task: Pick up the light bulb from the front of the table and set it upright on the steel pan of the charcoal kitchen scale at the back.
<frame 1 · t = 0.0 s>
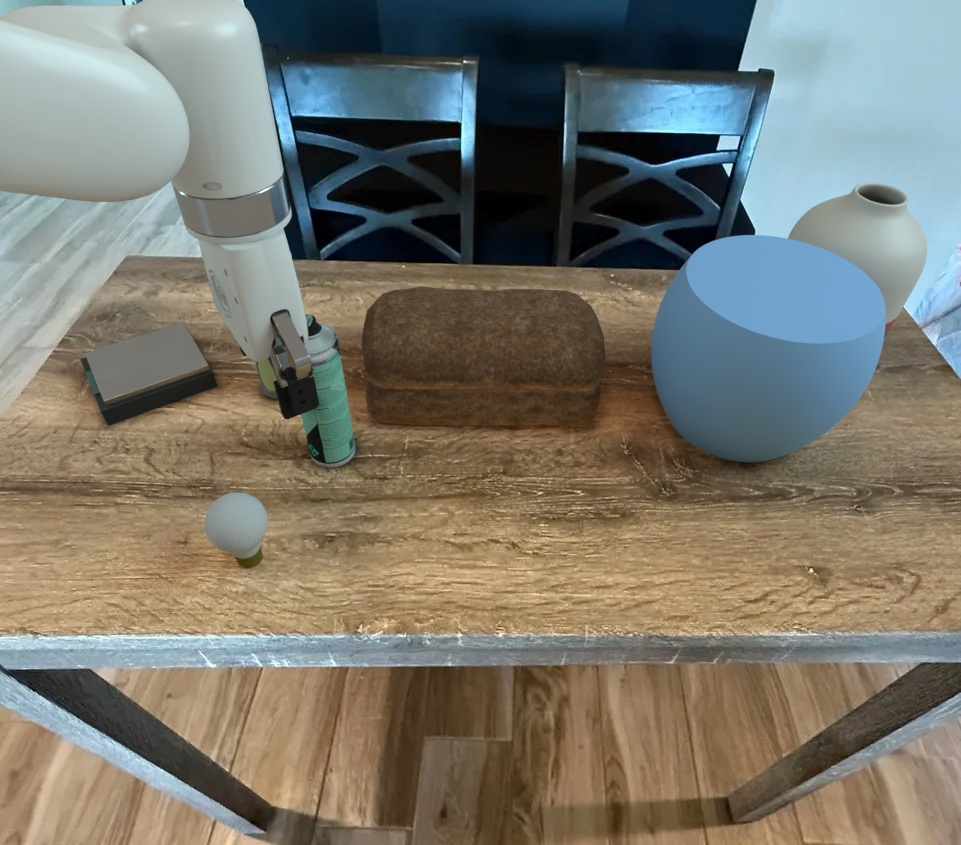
hand: (279, 379, 60), 21 cm above the table, tool pointing down, fingers open, 9 cm apart
blue rounded pouf: (730, 415, 90), on the table
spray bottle: (281, 390, 91), on the table
spray can: (333, 452, 83), on the table
bread: (481, 388, 92), on the table
scale: (152, 379, 91), on the table
vase: (810, 344, 101), on the table
light bulb: (252, 563, 72), on the table
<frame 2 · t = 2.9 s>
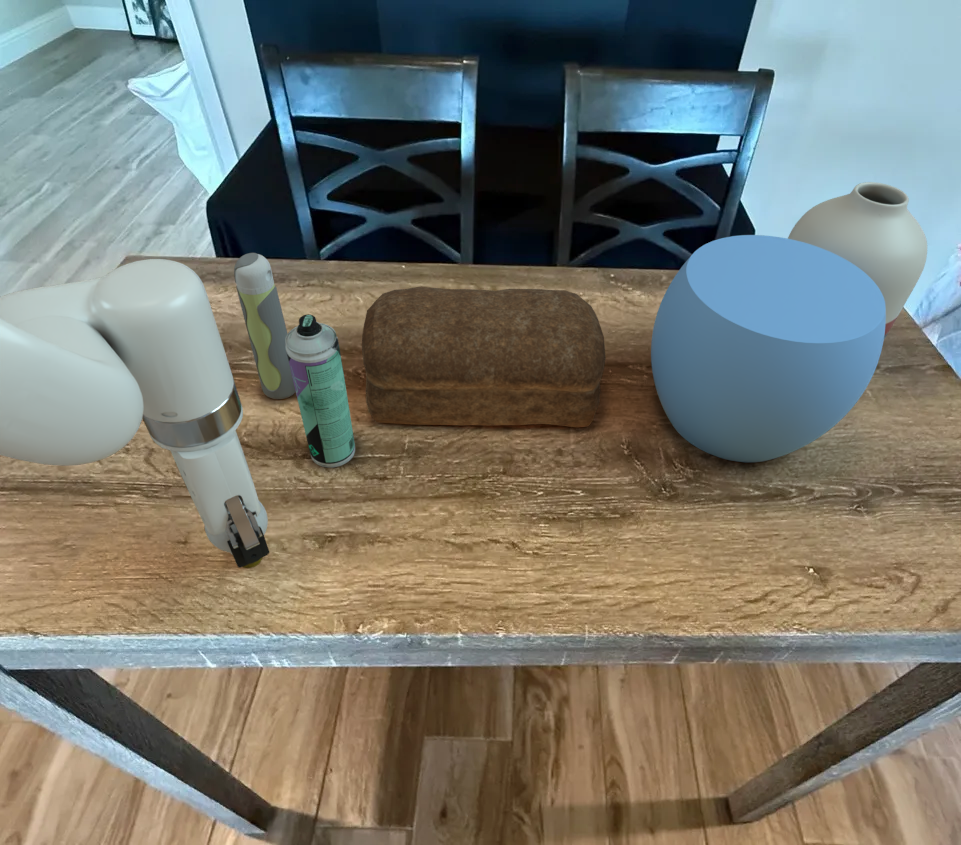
hand: (241, 534, 68), 5 cm above the table, tool pointing down, fingers closed on light bulb, 5 cm apart
light bulb: (252, 563, 72), on the table, touching gripper
everything else where it was.
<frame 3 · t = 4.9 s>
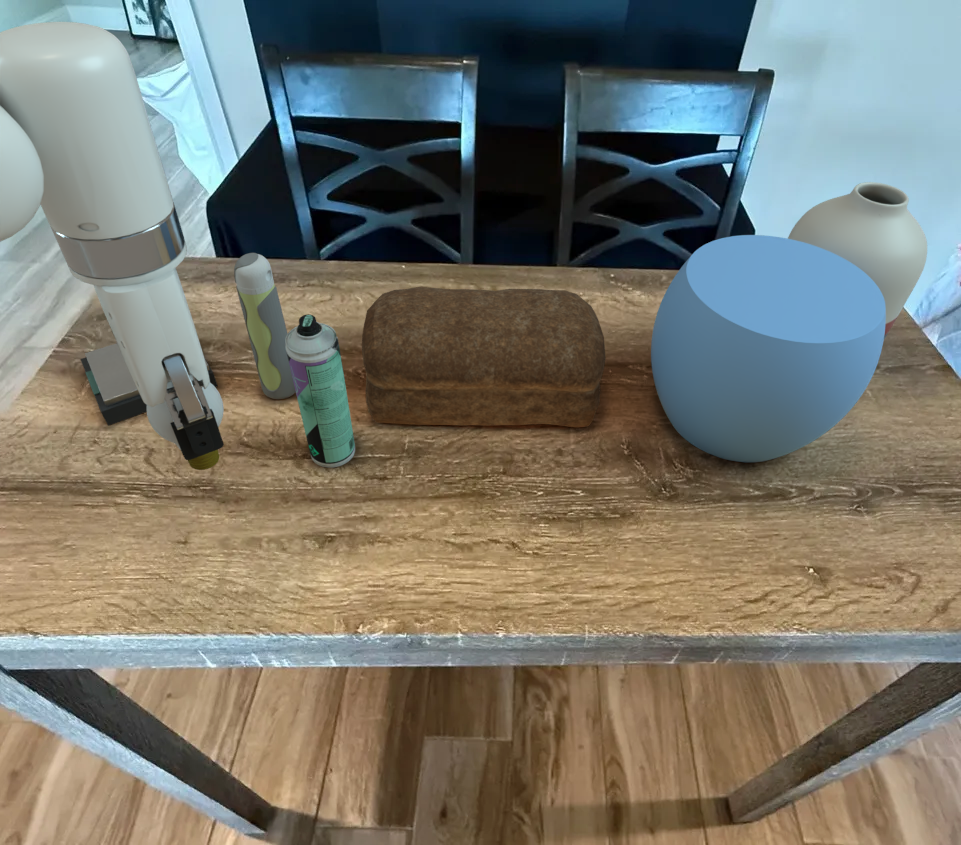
hand: (191, 426, 58), 20 cm above the table, tool pointing down, fingers closed on light bulb, 5 cm apart
light bulb: (207, 466, 61), point 15 cm above the table, touching gripper
everything else where it was.
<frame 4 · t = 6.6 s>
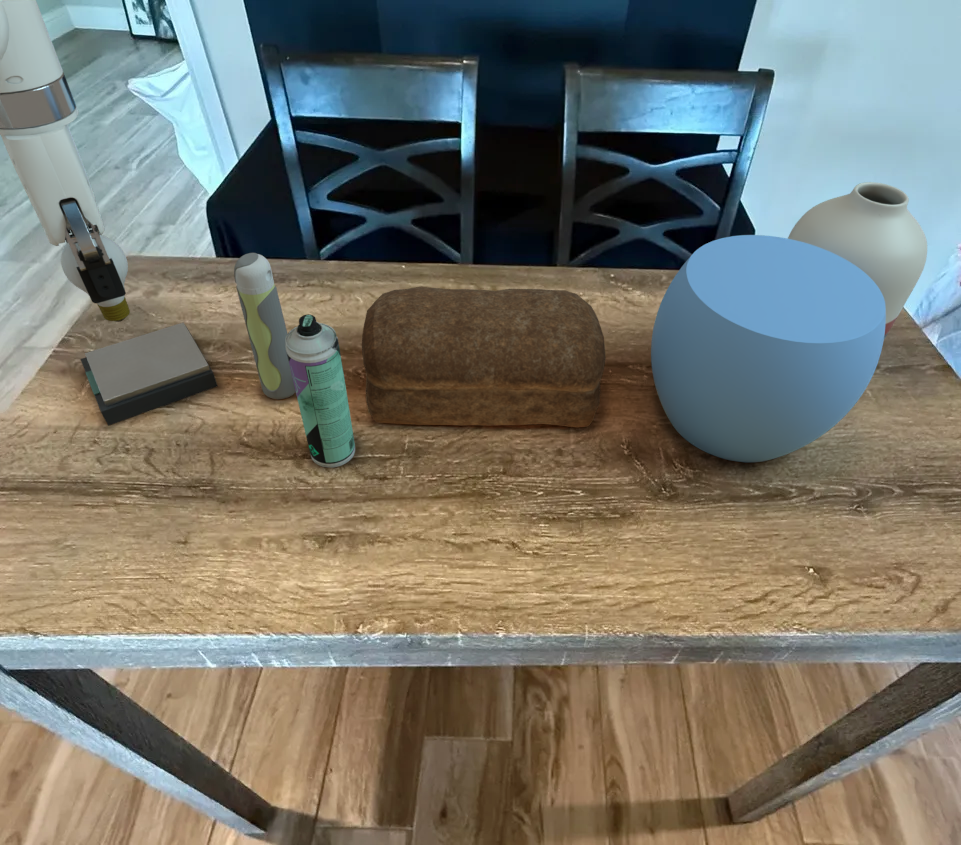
hand: (101, 280, 70), 22 cm above the table, tool pointing down, fingers closed on light bulb, 5 cm apart
light bulb: (120, 321, 74), point 16 cm above the table, touching gripper
everything else where it was.
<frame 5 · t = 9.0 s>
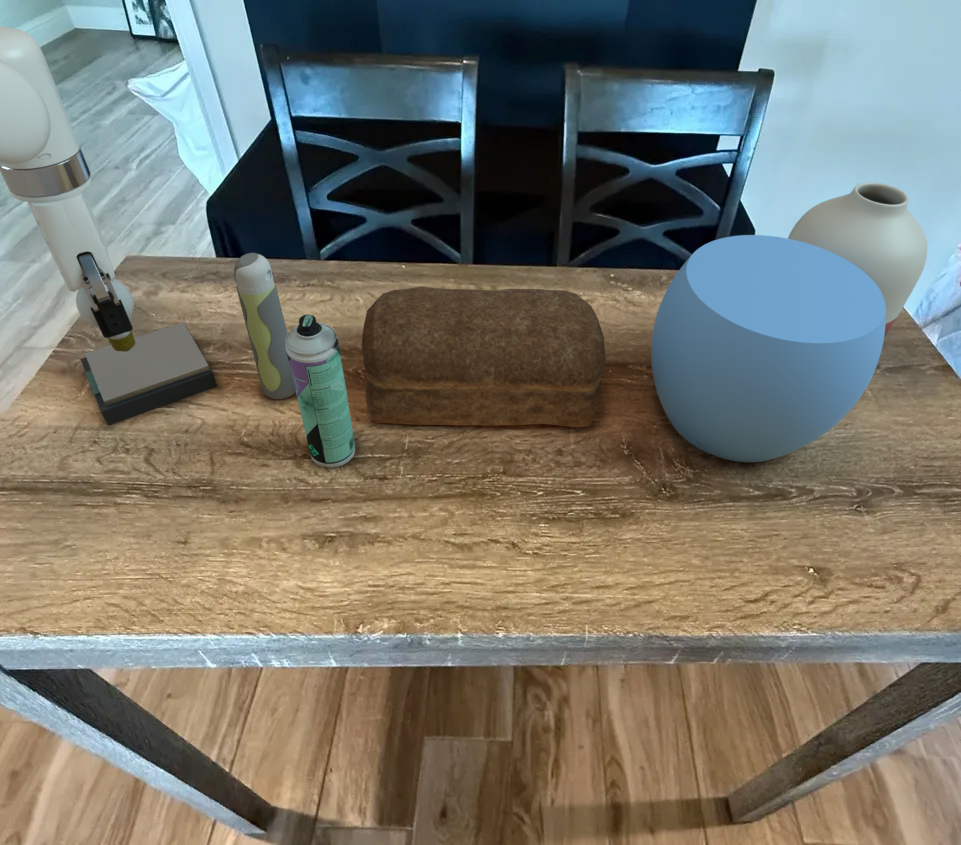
hand: (111, 317, 80), 13 cm above the table, tool pointing down, fingers closed on light bulb, 5 cm apart
light bulb: (127, 351, 84), point 8 cm above the table, touching gripper
everything else where it was.
when the fingers open (8 cm above the table, at t = 10.6 s): light bulb stays where it is, resting on scale.
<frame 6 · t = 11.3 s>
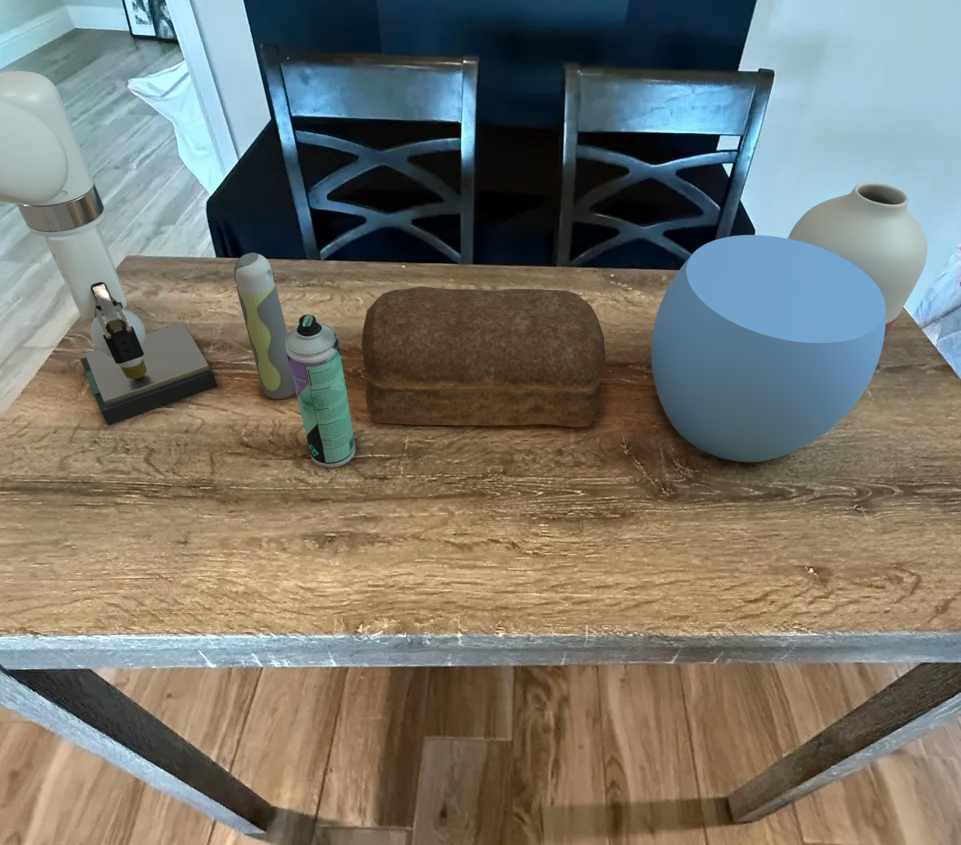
hand: (120, 337, 82), 10 cm above the table, tool pointing down, fingers open, 9 cm apart
light bulb: (138, 378, 87), point 3 cm above the table, touching scale
everything else where it was.
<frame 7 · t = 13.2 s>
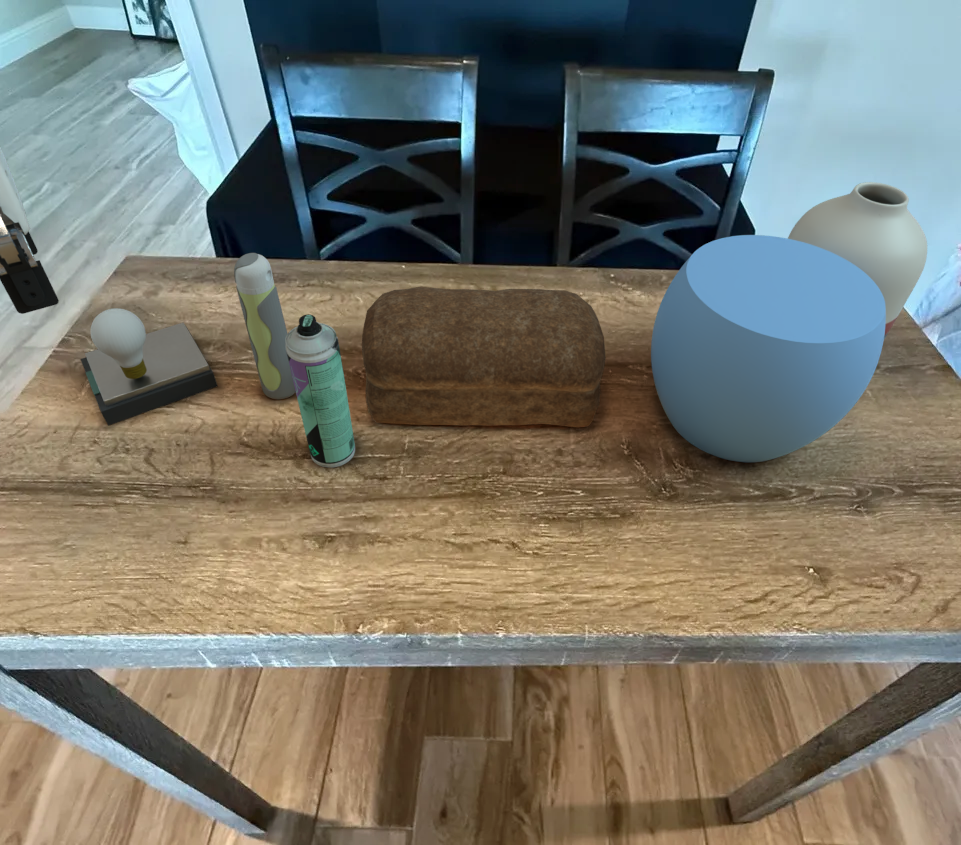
hand: (29, 281, 61), 27 cm above the table, tool pointing down, fingers open, 9 cm apart
nothing on the table moved.
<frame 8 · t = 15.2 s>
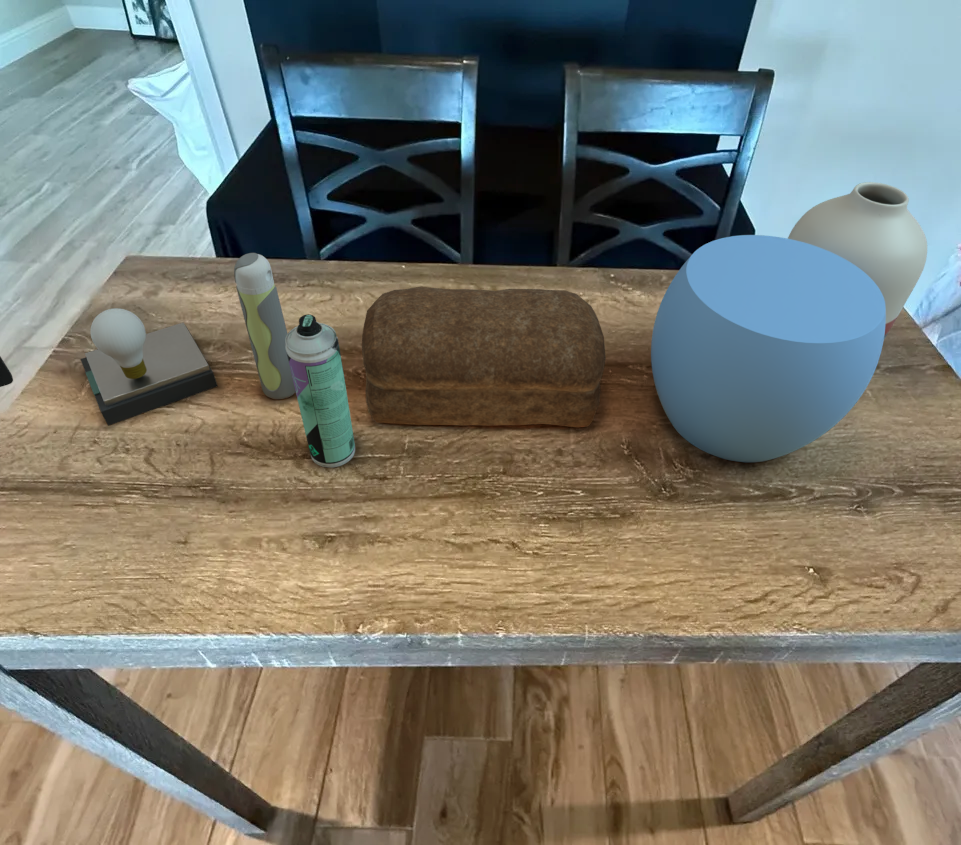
nothing on the table moved.
at the end: light bulb inside the target area on the scale (3.6 cm from its centre), point 3.3 cm above the scale's base; light bulb tilted 0°; the gripper is holding nothing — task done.
